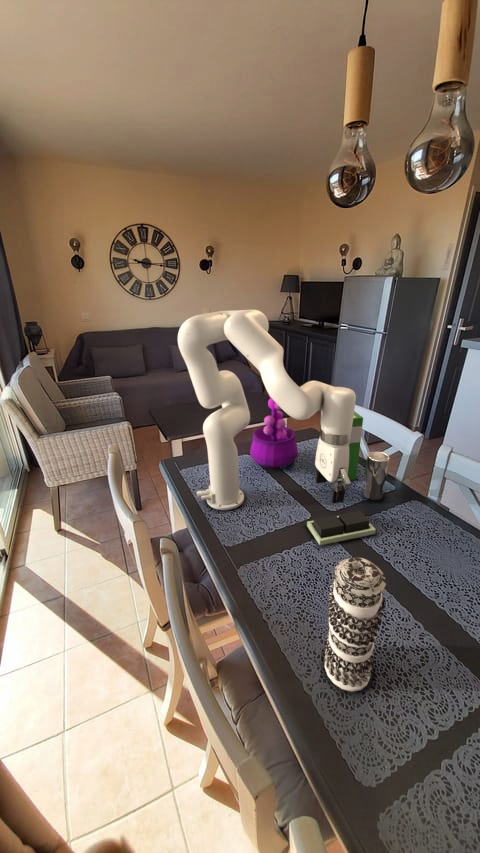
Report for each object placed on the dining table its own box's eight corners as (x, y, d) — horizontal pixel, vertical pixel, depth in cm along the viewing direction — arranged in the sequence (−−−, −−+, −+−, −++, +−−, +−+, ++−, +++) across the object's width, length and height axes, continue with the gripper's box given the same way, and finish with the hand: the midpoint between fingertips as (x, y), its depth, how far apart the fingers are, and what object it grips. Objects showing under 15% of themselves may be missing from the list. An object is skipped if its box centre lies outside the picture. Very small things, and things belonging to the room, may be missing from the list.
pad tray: (319, 546, 99) (320, 540, 99) (306, 527, 107) (307, 521, 106) (375, 535, 103) (375, 529, 102) (358, 516, 111) (359, 511, 110)
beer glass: (385, 502, 117) (392, 462, 111) (363, 500, 118) (368, 460, 112) (382, 491, 123) (388, 452, 117) (361, 489, 124) (365, 450, 118)
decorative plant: (245, 454, 151) (243, 385, 139) (287, 448, 155) (289, 380, 143) (258, 477, 134) (257, 400, 122) (304, 469, 138) (308, 395, 126)
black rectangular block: (320, 539, 101) (321, 529, 100) (312, 528, 106) (313, 518, 104) (343, 535, 103) (344, 525, 101) (334, 524, 107) (335, 514, 106)
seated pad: (346, 534, 103) (347, 524, 101) (337, 523, 107) (338, 514, 106) (368, 530, 104) (369, 520, 103) (359, 519, 109) (360, 510, 107)
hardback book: (318, 458, 145) (321, 402, 136) (335, 456, 146) (340, 400, 137) (337, 481, 129) (342, 419, 120) (356, 479, 130) (363, 417, 121)
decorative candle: (340, 636, 75) (351, 541, 65) (381, 669, 69) (401, 569, 59) (312, 665, 70) (320, 566, 60) (354, 705, 63) (371, 601, 53)
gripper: (307, 423, 99) (303, 477, 106) (338, 453, 84) (331, 513, 91) (332, 421, 100) (327, 473, 107) (367, 449, 85) (358, 508, 92)
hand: (329, 491), depth 99 cm, fingers open, 9 cm apart
